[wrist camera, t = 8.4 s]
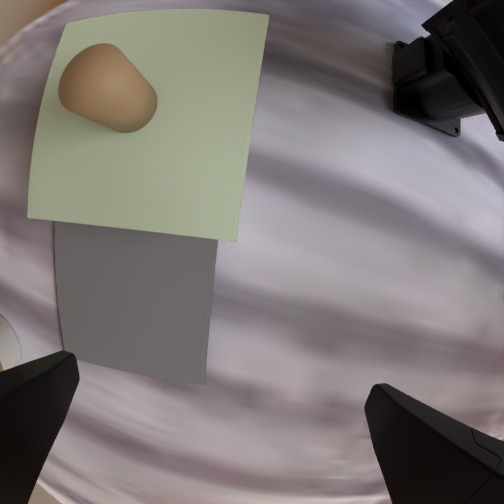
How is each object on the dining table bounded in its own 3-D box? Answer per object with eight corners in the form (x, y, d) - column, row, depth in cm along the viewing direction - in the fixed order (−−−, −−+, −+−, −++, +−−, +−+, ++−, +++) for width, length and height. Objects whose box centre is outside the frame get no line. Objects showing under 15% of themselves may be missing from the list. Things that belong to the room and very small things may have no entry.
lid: (267, 23, 12) (281, -38, 7) (236, 238, 15) (236, 267, 9) (73, 29, 11) (30, -9, 6) (36, 215, 14) (-27, 230, 8)
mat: (219, 225, 18) (219, 226, 18) (204, 381, 21) (204, 384, 20) (58, 208, 17) (55, 209, 17) (67, 353, 20) (65, 355, 20)
